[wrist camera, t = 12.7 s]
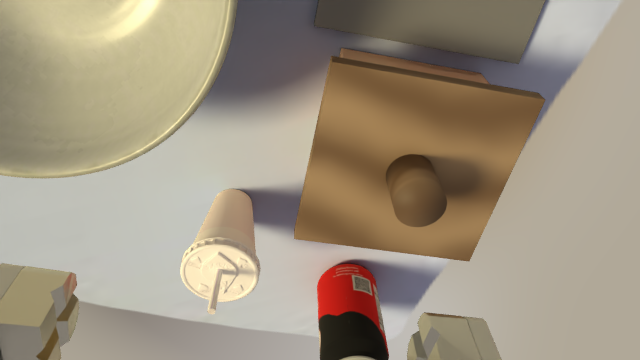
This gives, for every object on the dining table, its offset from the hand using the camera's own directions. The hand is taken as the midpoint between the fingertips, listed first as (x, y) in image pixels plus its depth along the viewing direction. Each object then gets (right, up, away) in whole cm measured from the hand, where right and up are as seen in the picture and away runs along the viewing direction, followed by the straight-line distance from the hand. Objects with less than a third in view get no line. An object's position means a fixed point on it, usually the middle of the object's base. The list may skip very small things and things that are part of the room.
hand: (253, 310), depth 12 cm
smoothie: (-7, +1, +37) cm, 37 cm away
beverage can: (+4, -8, +43) cm, 43 cm away
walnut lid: (+8, +4, +26) cm, 28 cm away
